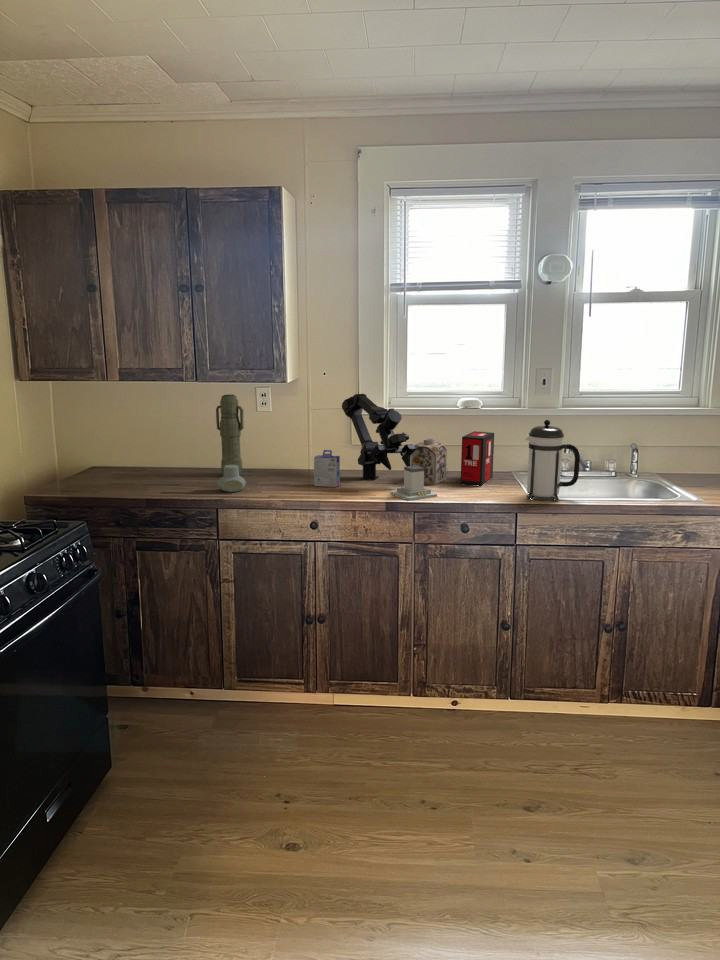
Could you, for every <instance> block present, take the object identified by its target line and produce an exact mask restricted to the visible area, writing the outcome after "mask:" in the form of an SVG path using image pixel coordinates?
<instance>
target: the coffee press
mask: <svg viewBox="0 0 720 960" xmlns="http://www.w3.org/2000/svg"><path fill="white" fill-rule="evenodd" d="M543 424H544V425H537V426H534V427H532V429H531V430H530V431H529V432H528V434H527V436H526V437H525V439H524V441H527V442H528V464H527V466H528V467H527V480H526V481H527V485H526V492H527V493H526V494H528V493H529V494H528V496H527V500H528V499H530V498H531V499H532V500H534V498H536V497H538V498H550V499H552V500H554V499H556V500H559V501H560V499H559V496H558V495H559V493H560V488H561V487H570V486H572V487H573V486H574V485H575V484H576V483H577V481H578V479H579V474H580V473H579V472H580V461H581V459H580V458H581V457H580V452H579V449H578V448H577V446H575V445H573V444H571V443H570V444H569V443H567V444H565V443H564V444H563V442H564V440H563V439H564V437H565V434H564V432H563V430H562V429H561V428H560V427H558V426H553V425H551V420H549V419H546V420H544V421H543ZM563 449H565V450H570V451H572V452H573V454H574V464H573V476H572V478H571V480H570V481H561V470H562V459H563V457H562V455H563Z"/></svg>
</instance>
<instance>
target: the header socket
mask: <svg viewBox="0 0 720 960" xmlns="http://www.w3.org/2000/svg"><path fill="white" fill-rule="evenodd" d="M390 495H392V496H393V495H394V496H396V497H398V498H401V499H402V500H403V499H404V500H406V501H407V502H408V501H409V502H410V501H415V500H417V501H418V500H422V499H430V498H437V497H438V493H435V492H432V489H429V488H428V487H427V488H426V487H424V490H422V491H414V492H410V491H407V490H404V486H400V487H396V490H391V491H390Z"/></svg>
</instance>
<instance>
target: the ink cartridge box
mask: <svg viewBox="0 0 720 960" xmlns="http://www.w3.org/2000/svg"><path fill="white" fill-rule="evenodd" d="M332 452H333V451H332V449H323V451H322V454H321V455H316V456H314V457H313V483H314V484H313V486H314V487H329V488H331V487H333V488H335V487H336V488H338V486H341V484H340V482H341V480H340V479H341V477H340V476H341V475H340V474H341V472H340V471H341V470H340V467H341V463H340V462H341V461H340V458H341V456H340V455H333V453H332Z"/></svg>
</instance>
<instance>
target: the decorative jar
mask: <svg viewBox="0 0 720 960" xmlns="http://www.w3.org/2000/svg"><path fill="white" fill-rule="evenodd" d="M414 446H415V448H416V450H415V451H414V452H413V453H412V454H411V466H420V467H423V468H424V485H425V484H426V485H432V486H433V485H434V486H436V485H438V484H440V482H441V483H442V482H444V480H445V481H446V480H447V459H448V457H447V448H446V447H445V445H444V444H442V443H441V442H436V439H435V438H424V439H423V441H421V442H418V443H415V444H414Z"/></svg>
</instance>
